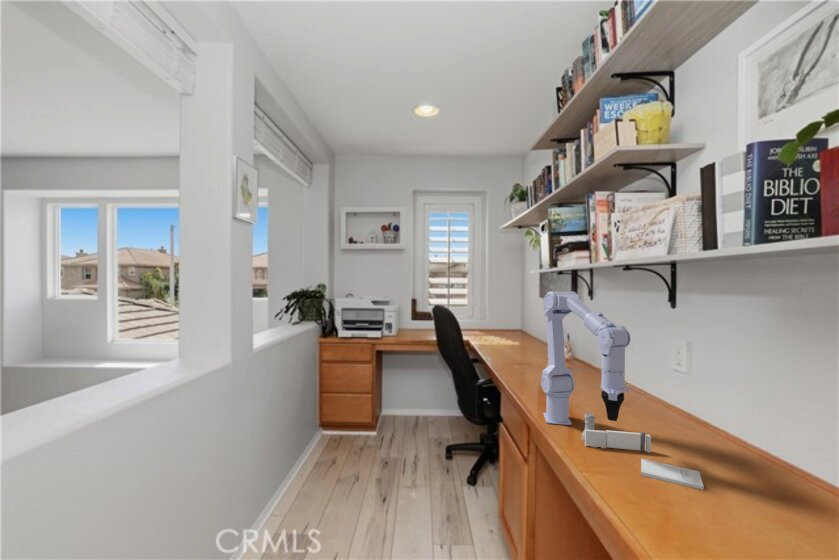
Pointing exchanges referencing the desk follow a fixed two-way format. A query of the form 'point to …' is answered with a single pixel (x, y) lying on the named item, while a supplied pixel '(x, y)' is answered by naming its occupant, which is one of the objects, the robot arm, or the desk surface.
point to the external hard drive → (671, 474)
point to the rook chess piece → (588, 423)
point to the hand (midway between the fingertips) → (612, 419)
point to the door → (625, 440)
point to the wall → (599, 439)
